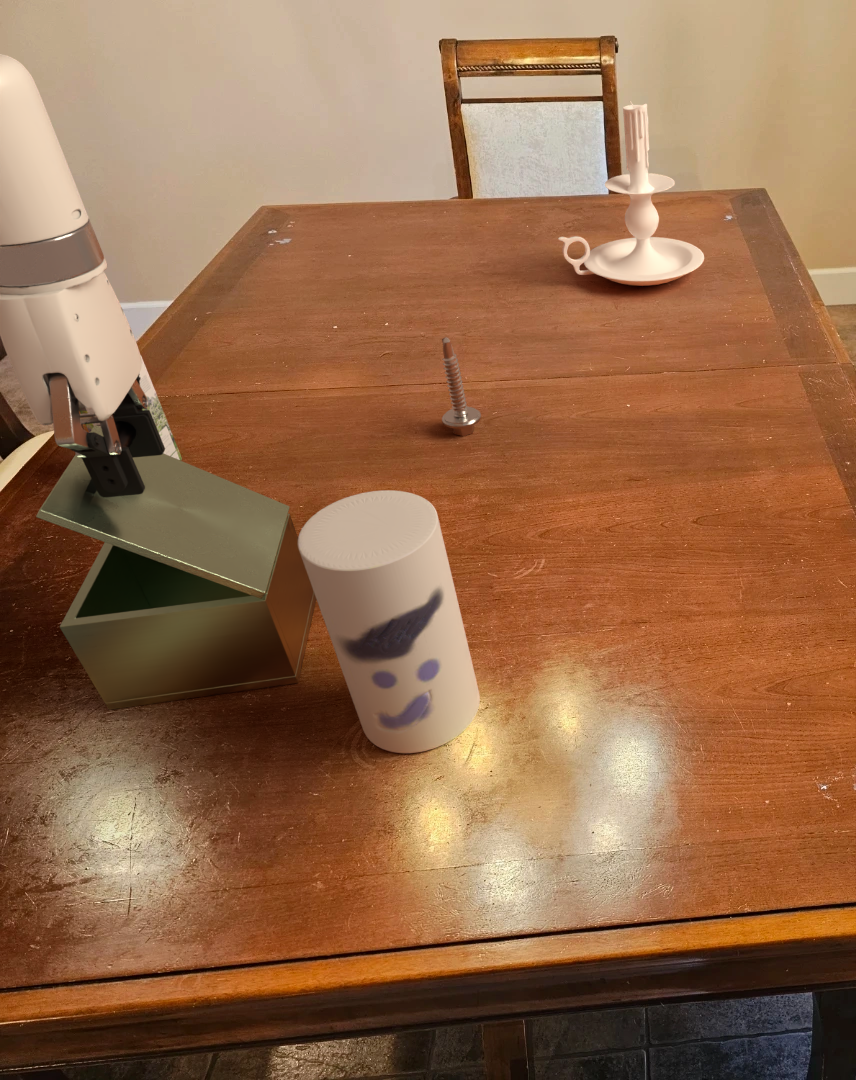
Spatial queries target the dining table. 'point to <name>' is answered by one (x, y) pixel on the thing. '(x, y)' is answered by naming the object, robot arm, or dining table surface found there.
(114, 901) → the dining table surface
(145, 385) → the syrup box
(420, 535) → the container
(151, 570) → the bin
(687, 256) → the candlestick
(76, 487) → the lid
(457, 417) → the screw
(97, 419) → the robot arm
